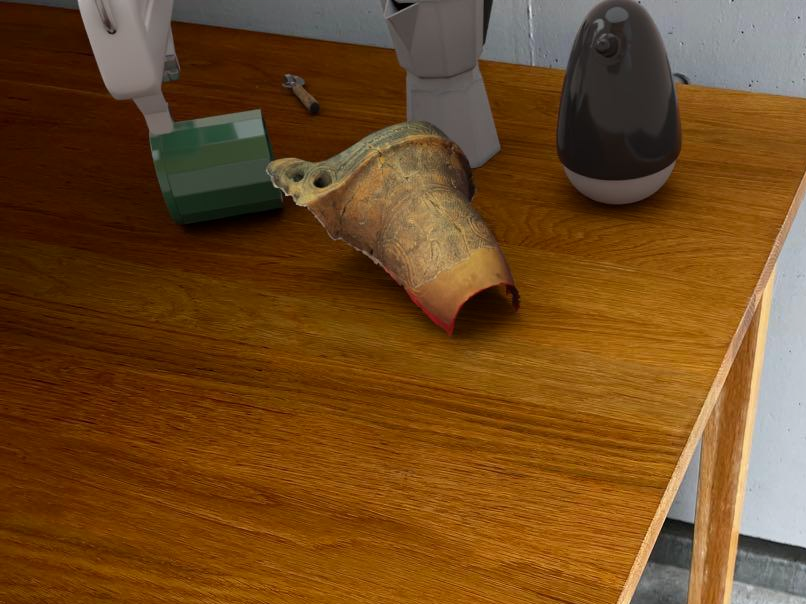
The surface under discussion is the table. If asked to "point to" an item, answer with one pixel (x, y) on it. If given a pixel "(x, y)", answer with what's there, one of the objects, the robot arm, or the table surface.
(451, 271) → the tan clay pottery piece
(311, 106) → the can opener
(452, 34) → the coffee maker
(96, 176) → the table surface
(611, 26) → the pump dispenser
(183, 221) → the cup
